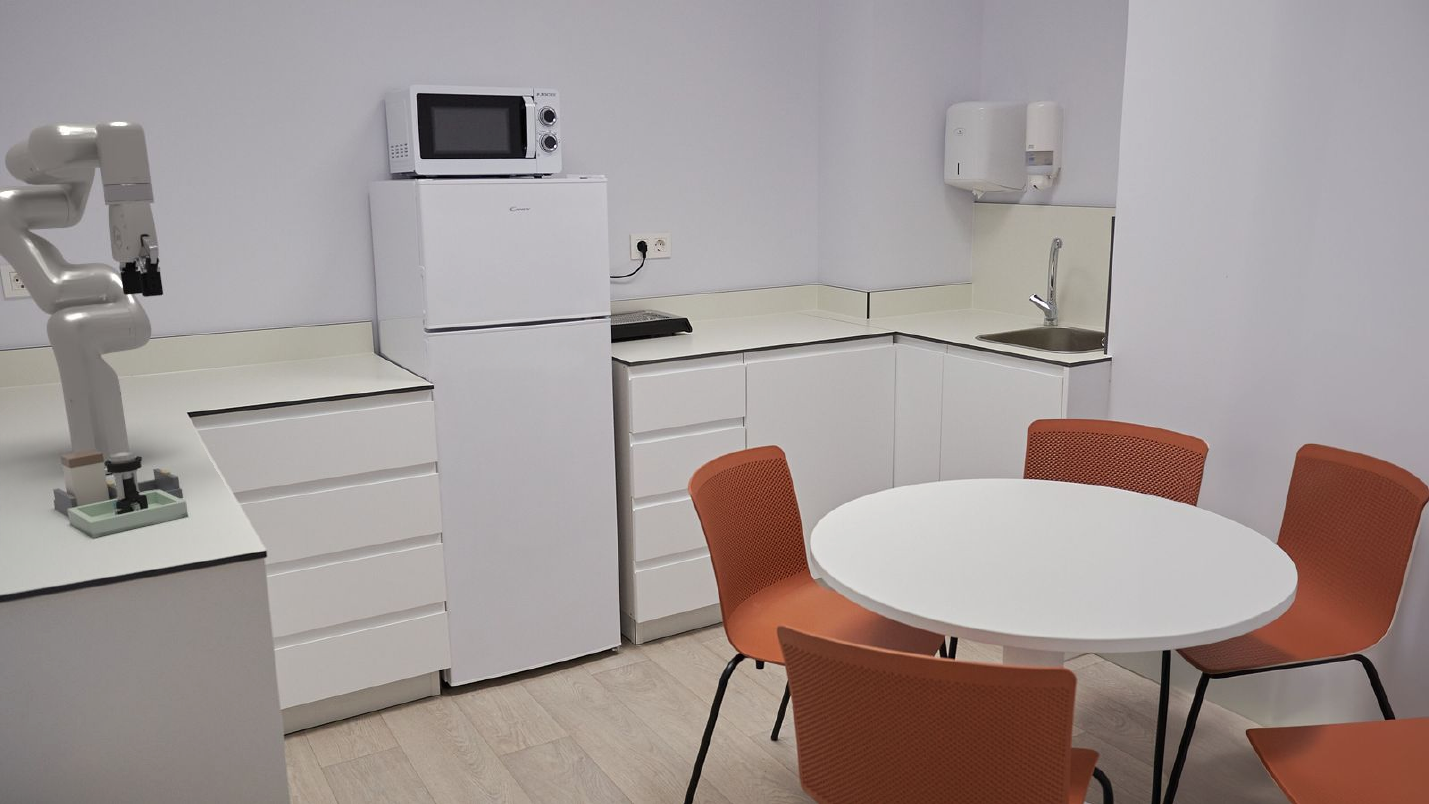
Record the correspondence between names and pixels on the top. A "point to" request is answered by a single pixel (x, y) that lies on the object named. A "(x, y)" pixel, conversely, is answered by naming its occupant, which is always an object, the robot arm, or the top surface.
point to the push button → (126, 482)
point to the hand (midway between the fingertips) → (143, 294)
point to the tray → (126, 514)
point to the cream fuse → (85, 477)
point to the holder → (161, 482)
